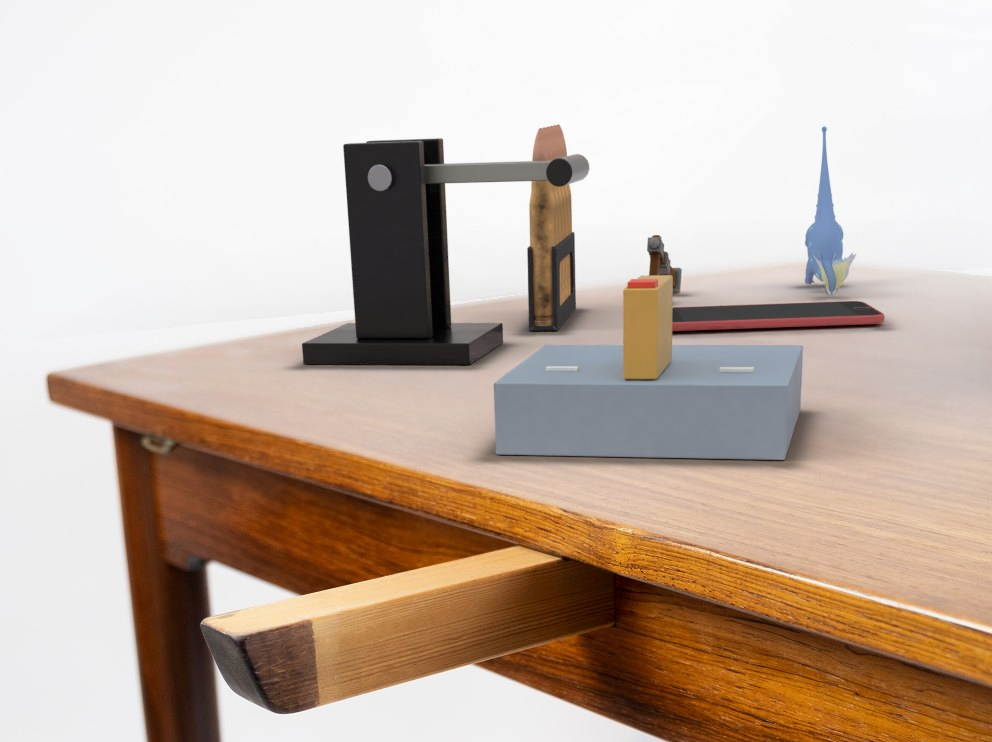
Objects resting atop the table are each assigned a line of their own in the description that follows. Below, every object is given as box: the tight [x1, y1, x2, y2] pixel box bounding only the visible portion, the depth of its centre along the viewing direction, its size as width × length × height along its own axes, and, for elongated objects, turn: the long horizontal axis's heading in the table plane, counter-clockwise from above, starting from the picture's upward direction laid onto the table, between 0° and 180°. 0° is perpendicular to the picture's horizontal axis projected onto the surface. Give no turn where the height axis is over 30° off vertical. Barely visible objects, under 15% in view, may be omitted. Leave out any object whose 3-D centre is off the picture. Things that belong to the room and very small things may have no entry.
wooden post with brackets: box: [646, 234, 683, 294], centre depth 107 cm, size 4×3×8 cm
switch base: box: [493, 344, 804, 461], centre depth 66 cm, size 12×10×3 cm
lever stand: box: [301, 137, 504, 366], centre depth 88 cm, size 10×8×12 cm
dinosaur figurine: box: [804, 126, 857, 298], centre depth 109 cm, size 3×15×10 cm
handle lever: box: [424, 153, 590, 187], centre depth 85 cm, size 12×5×2 cm, turn 75°
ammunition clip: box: [526, 124, 577, 332], centre depth 98 cm, size 11×2×12 cm, turn 170°
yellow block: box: [622, 275, 674, 380], centre depth 63 cm, size 5×1×4 cm, turn 166°
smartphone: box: [672, 300, 885, 332], centre depth 95 cm, size 7×1×14 cm
